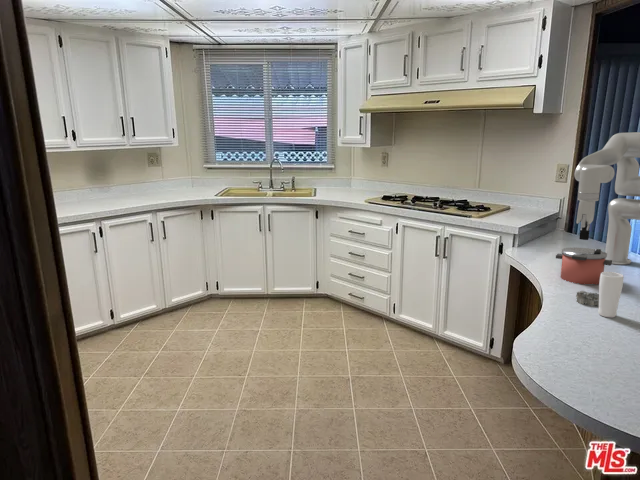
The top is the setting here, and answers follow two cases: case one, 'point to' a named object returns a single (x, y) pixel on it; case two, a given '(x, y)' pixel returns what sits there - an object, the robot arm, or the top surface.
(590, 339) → the top surface
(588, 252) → the cooker lid
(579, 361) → the top surface
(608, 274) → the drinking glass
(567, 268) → the cooker pot
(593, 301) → the egg carton
